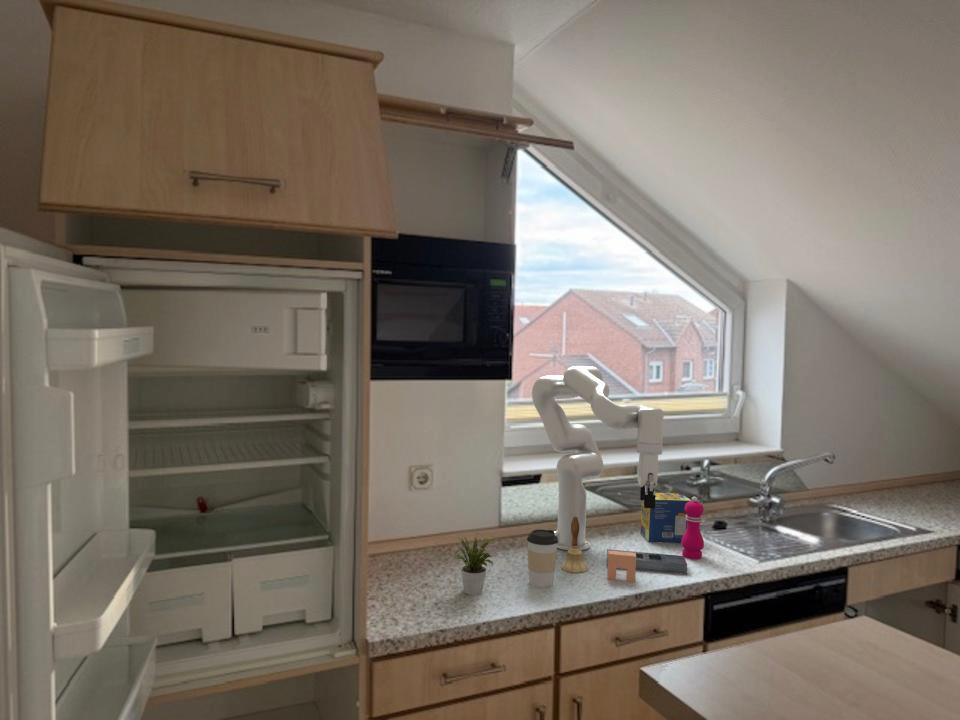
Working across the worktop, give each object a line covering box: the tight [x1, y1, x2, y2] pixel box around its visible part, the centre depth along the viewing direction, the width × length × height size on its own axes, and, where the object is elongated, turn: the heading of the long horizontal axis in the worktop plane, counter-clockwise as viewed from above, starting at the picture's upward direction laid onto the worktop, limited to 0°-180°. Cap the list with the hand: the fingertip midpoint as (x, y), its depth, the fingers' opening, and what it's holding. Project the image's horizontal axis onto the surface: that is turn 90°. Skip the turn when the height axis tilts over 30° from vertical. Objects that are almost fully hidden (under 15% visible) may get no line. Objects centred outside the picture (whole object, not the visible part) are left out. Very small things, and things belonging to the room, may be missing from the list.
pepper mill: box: [680, 496, 705, 560], centre depth 216 cm, size 7×7×20 cm
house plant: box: [446, 531, 494, 596], centre depth 180 cm, size 14×14×16 cm
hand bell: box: [560, 517, 589, 574], centre depth 201 cm, size 8×8×16 cm
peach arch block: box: [606, 551, 637, 582], centre depth 194 cm, size 8×3×8 cm, turn 80°
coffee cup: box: [526, 529, 558, 588], centre depth 188 cm, size 9×9×15 cm
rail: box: [606, 548, 688, 575], centre depth 206 cm, size 24×8×3 cm, turn 80°
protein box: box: [639, 492, 692, 544], centre depth 235 cm, size 10×15×16 cm
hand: (647, 504), depth 199 cm, fingers open, 9 cm apart
